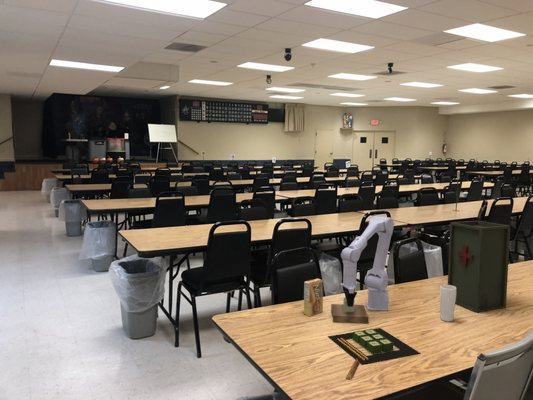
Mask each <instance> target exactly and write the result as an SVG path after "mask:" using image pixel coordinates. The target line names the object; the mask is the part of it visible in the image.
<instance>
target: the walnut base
mask: <svg viewBox="0 0 533 400" xmlns="http://www.w3.org/2000/svg"><path fill="white" fill-rule="evenodd" d="M330 305H331V306H330V312H331V316H332V321H333V323H344V324H369V315H368V311H367V310H366V308H365V304H354V312H344V309H343V304H341V303H331V304H330Z"/></svg>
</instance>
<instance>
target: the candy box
mask: <svg viewBox="0 0 533 400" xmlns="http://www.w3.org/2000/svg"><path fill="white" fill-rule="evenodd" d="M303 284H304V285H303V314H304V315H305V314H306V316H308V317H311V316H314V315H318V314H321V313H323V312H324V310H323V309H324V308H323V307H324V280H323V279H320V278H315V279H309V280H306V281H304V283H303Z"/></svg>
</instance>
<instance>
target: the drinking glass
mask: <svg viewBox="0 0 533 400" xmlns="http://www.w3.org/2000/svg"><path fill="white" fill-rule="evenodd" d="M455 302H456V287H455V286H451V285H448V284H441V285H440V286H439V306H440V307H439V310H440V317H439V318H440V320H441V321H444V322H453V321H454V315H455V308H456V304H455Z"/></svg>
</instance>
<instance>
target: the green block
mask: <svg viewBox="0 0 533 400" xmlns="http://www.w3.org/2000/svg"><path fill="white" fill-rule="evenodd" d="M354 305H355V300H354V303H353V306H352V307H348V305H347V299H346V298H345V297H343V309H344V312H354Z"/></svg>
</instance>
